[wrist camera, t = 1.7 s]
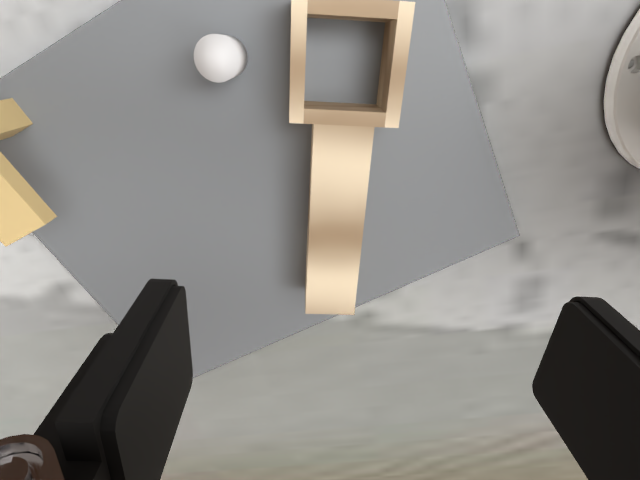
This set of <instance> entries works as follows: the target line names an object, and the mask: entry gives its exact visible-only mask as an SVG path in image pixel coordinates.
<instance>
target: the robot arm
mask: <svg viewBox="0 0 640 480" xmlns="http://www.w3.org/2000/svg"><path fill="white" fill-rule="evenodd" d="M604 114H605V123H606V126H607V129H608V133H609V136H610V139H611V141H612V142H613V144H614V146H615V147H616V149H617V151H618V152H619V154H621V155H622V156H623V157H624V158H625V159H626V160H627V161H628V162H629V163H630V164H631V165H633V166H635V167H637V168H639V169H640V9H639V11H638V12H637V14H636V15H635V17H634V18H633V20H632V22H631V23H630V25H629V26H628V28H627V29H626V31H625V32H624V34H623V36H622V39H621V41H620V43H619V45H618V47H617V49H616V52H615V54H614V56H613V59H612V62H611V65H610V69H609V72H608V76H607V79H606V86H605V94H604ZM192 379H193V367H192V356H191V345H190V334H189V323H188V312H187V300H186V290H185V287H184V286H178V284H177V281H176V280H173V279H150V280H149V281H148V282H147V283H146V285H145V286H144V288H143V289H142V291H141V292H140V294H139V295H138V297H137V298H136V300H135V301H134V303H133V304H132V306H131V307H130V309H129V310H128V312H127V313H126V315H125V316H124V318H123V319H122V321H121V322H120V324H119V325H118V327H117V328H116V330H115V331H114V333H108V334H105V335H104V336H103V337H102V338H101V339H100V340H99V341H98V343H97V344H96V346H95V347H94V349H93V350H92V351H91V353H90V354H89V356H88V357H87V359H86V360H85V361H84V363H83V364H82V366H81V367H80V369H79V370H78V372H77V373H76V374H75V376H74V377H73V379H72V380H71V382H70V383H69V384H68V386H67V387H66V389H65V390H64V392H63V393H62V394H61V396H60V397H59V399H58V400H57V402H56V403H55V405H54V406H53V407H52V409H51V410H50V412H49V413H48V415H47V416H46V417H45V419H44V420H43V422H42V423H41V425H40V426H39V428H38V429H37V430H36V432H35V433H34V435H29V434H22V435H16V436H9V437H6V438H3V439H0V480H160V478H161V475H162V472H163V469H164V466H165V463H166V460H167V457H168V454H169V451H170V448H171V445H172V442H173V439H174V436H175V433H176V430H177V427H178V424H179V421H180V418H181V415H182V412H183V409H184V406H185V403H186V400H187V397H188V395H189V392H190V389H191V385H192ZM532 388H533V393H534V396H535V398H536V399H537V401H538V402H539V404H540V405H541V407H542V408H543V410H544V412H545V413H546V415H547V416H548V418H549V419H550V421H551V422H552V424H553V425H554V427H555V429H556V430H557V432H558V433H559V435H560V436H561V438H562V439H563V441H564V443H565V444H566V446H567V447H568V449H569V450H570V452H571V453H572V455H573V456H574V458H575V460H576V461H577V463H578V464H579V466H580V467H581V469H582V470H583V472H584V473H585V475H586V477H587V478H588V480H640V331H639V330H638V329H637V328H636V327H635V326H634V325H632V324H631V323H630V322H629V321H628V320H627V319H626V318H624V317H623V316H622V315H621V314H620V313H619V312H617V311H616V310H615V309H614V308H613V307H612V306H610V305H609V304H608V303H607V302H606V301H605V300H603V299H601V298H597V297H574V298H572V299H571V300H570V301H569V302H568V303H566V304H564V306H563V308H562V310H561V313H560V315H559V318H558V320H557V323H556V325H555V328H554V330H553V333H552V335H551V338H550V340H549V343H548V345H547V348H546V350H545V353H544V355H543V358H542V360H541V363H540V365H539V368H538V370H537V373H536V375H535V378H534V380H533V384H532Z"/></svg>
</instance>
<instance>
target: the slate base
mask: <svg viewBox="0 0 640 480" xmlns="http://www.w3.org/2000/svg"><path fill="white" fill-rule="evenodd" d="M393 1H408V2H415V9H414V17H413V24H412V32H411V39H410V47H409V54H408V62H407V69H406V76H405V84H404V91H403V99H402V106H401V114H400V121H399V128H385V127H374V137H373V146H372V155H371V164H370V173H369V183H368V192H367V201H366V210H365V220H364V229H363V238H362V247H361V256H360V266H359V275H358V284H357V293H356V303H355V307H357V306H359V305H362V304H364V303H366V302H369V301H371V300H373V299H376V298H378V297H380V296H382V295H385V294H387V293H389V292H392V291H394V290H396V289H398V288H401V287H403V286H405V285H408V284H410V283H412V282H414V281H417V280H419V279H421V278H424V277H426V276H428V275H431V274H433V273H435V272H437V271H440V270H442V269H444V268H447V267H449V266H451V265H453V264H456V263H458V262H460V261H463V260H465V259H467V258H470V257H472V256H474V255H476V254H479V253H481V252H483V251H486V250H488V249H490V248H492V247H495V246H497V245H499V244H502V243H504V242H506V241H509V240H511V239H513V238H515V237H518V236H520V235H519V231H518V228H517V225H516V222H515V219H514V216H513V213H512V209H511V206H510V203H509V200H508V197H507V194H506V191H505V187H504V184H503V181H502V178H501V175H500V172H499V169H498V165H497V162H496V159H495V156H494V153H493V150H492V147H491V143H490V140H489V137H488V134H487V131H486V128H485V125H484V121H483V118H482V115H481V112H480V109H479V106H478V103H477V99H476V96H475V93H474V90H473V87H472V84H471V81H470V77H469V74H468V71H467V68H466V65H465V62H464V59H463V56H462V52H461V49H460V46H459V43H458V40H457V37H456V34H455V30H454V27H453V24H452V21H451V18H450V15H449V12H448V8H447V5H446V2H445V0H393ZM384 29H385V22H371V21H354V20H338V19H322V18H307V33H306V63H305V93H304V101H318V102H338V103H358V104H376V103H377V94H378V84H379V75H380V66H381V57H382V47H383V38H384ZM290 47H291V0H120V1H119V2H117V3H116V4H114V5H113V6H111V7H110V8H108V9H107V10H105V11H104V12H102V13H100V14H99V15H97V16H96V17H94V18H93V19H91V20H90V21H88V22H87V23H85V24H83V25H82V26H80V27H79V28H77V29H76V30H74V31H73V32H71V33H70V34H68V35H66V36H65V37H63V38H62V39H60V40H59V41H57V42H56V43H54V44H53V45H51V46H50V47H48V48H46V49H45V50H43V51H42V52H40V53H39V54H37V55H36V56H34V57H33V58H31V59H29V60H28V61H26V62H25V63H23V64H22V65H20V66H19V67H17V68H16V69H14V70H12V71H11V72H9V73H8V74H6V75H5V76H3V77H2V78H0V241H1V242H2V243H3V244H4V245H5V246H8V245H10V244H11V243H13V242H15V241H17V240H19V239H20V238H22V237H24V236H26V235H28V234H29V233H31V232H33V233H34V234H35V235H36V237H37V238H38V239H39V240H40V241H41V242H42V243H43V244H44V245H45V246H46V247H47V248H48V250H49V251H50V252H51V253H52V254H53V255H54V256H55V257H56V258H57V259H58V260H59V261H60V263H61V264H62V265H63V266H64V267H65V268H66V269H67V270H68V271H69V272H70V273H71V274H72V275H73V277H74V278H75V279H76V280H77V281H78V282H79V283H80V284H81V285H82V286H83V287H84V288H85V290H86V291H87V292H88V293H89V294H90V295H91V296H92V297H93V298H94V299H95V300H96V301H97V303H98V304H99V305H100V306H101V307H102V308H103V309H104V310H105V311H106V312H107V313H108V314H109V316H110V317H111V318H112V319H113V320H114V321H115V322H116V323H117V324H118V325H119V324H120V322H121V321H122V319H123V318H124V316H125V315H126V313H127V312H128V310H129V309H130V307H131V306H132V304H133V303H134V301H135V300H136V298H137V297H138V295H139V294H140V292H141V291H142V289H143V288H144V286H145V285H146V283H147V282H148V281H149V280H150V279H173V280H176V281H177V284H178V286H184V287H185V290H186V300H187V312H188V323H189V334H190V345H191V356H192V367H193V378H194V377H197V376H199V375H201V374H203V373H206V372H208V371H210V370H213V369H215V368H217V367H220V366H222V365H224V364H226V363H229V362H231V361H233V360H236V359H238V358H240V357H242V356H245V355H247V354H249V353H252V352H254V351H256V350H259V349H261V348H263V347H265V346H268V345H270V344H272V343H275V342H277V341H279V340H281V339H284V338H286V337H288V336H291V335H293V334H295V333H298V332H300V331H302V330H304V329H307V328H309V327H311V326H314V325H316V324H318V323H320V322H323V321H325V320H327V319H330V318H332V317H334V316H337V315H339V314H305V279H306V255H307V232H308V208H309V185H310V161H311V138H312V124H300V123H289V101H290Z"/></svg>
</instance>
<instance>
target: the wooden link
mask: <svg viewBox="0 0 640 480" xmlns="http://www.w3.org/2000/svg"><path fill="white" fill-rule="evenodd" d="M414 9H415V2H408V1H393V0H291V47H290V101H289V123H300V124H312V138H311V161H310V185H309V208H308V232H307V255H306V279H305V314H341V315H354V312H355V303H356V293H357V284H358V275H359V266H360V256H361V247H362V238H363V229H364V220H365V210H366V201H367V192H368V183H369V173H370V164H371V155H372V146H373V137H374V127H385V128H399V121H400V114H401V106H402V99H403V91H404V84H405V76H406V69H407V62H408V54H409V47H410V39H411V32H412V24H413V17H414ZM307 18H322V19H338V20H354V21H371V22H385V29H384V38H383V47H382V57H381V66H380V75H379V84H378V94H377V103H376V104H358V103H338V102H318V101H304V93H305V63H306V33H307Z"/></svg>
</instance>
